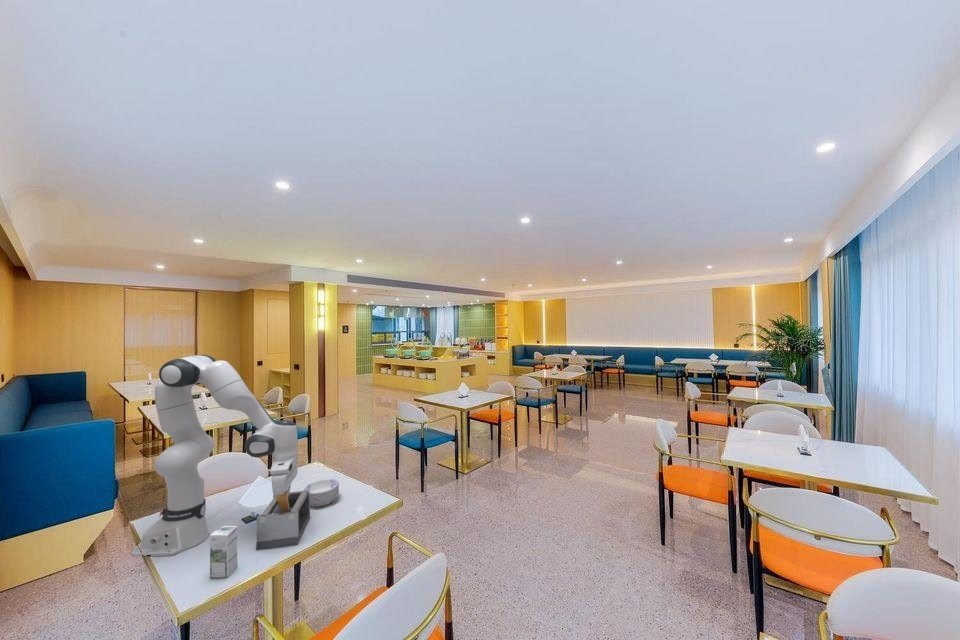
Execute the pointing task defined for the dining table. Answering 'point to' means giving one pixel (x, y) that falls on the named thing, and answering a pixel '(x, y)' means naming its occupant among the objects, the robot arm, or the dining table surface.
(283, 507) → the lever
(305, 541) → the dining table surface
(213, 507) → the dining table surface
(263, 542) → the grey storage bin
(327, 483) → the paper bowls
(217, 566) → the syrup box
